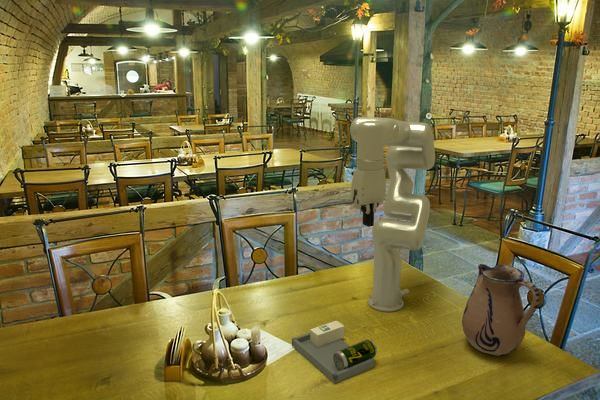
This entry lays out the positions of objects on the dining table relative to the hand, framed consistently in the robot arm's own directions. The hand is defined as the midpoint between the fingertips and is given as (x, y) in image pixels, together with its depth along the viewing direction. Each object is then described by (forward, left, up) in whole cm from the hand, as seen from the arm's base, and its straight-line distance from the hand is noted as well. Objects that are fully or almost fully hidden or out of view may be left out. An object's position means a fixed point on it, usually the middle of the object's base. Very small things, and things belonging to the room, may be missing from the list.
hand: (368, 225), depth 144 cm
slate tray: (+16, +4, -37) cm, 40 cm away
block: (+7, -3, -34) cm, 35 cm away
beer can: (+7, +11, -33) cm, 36 cm away
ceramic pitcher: (-28, +28, -37) cm, 54 cm away
